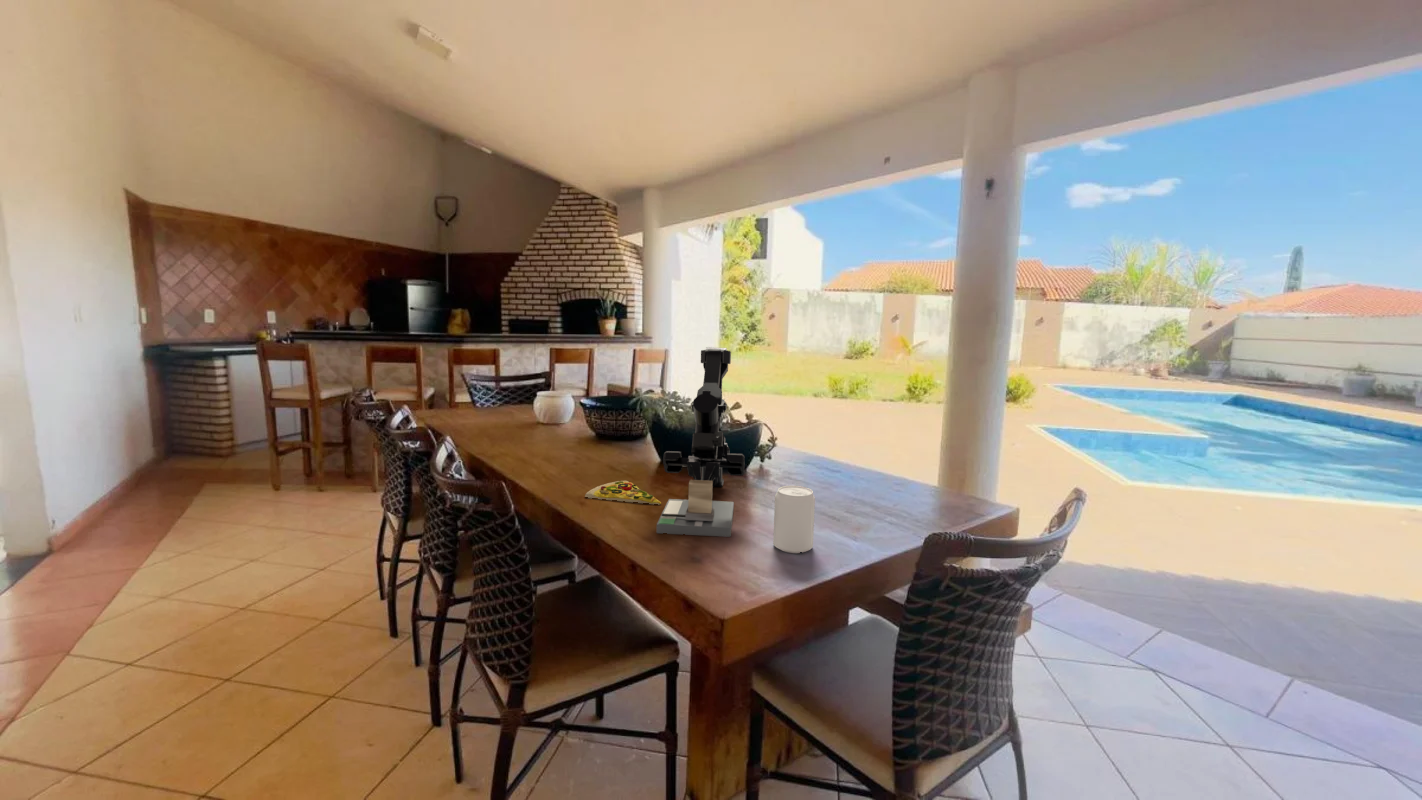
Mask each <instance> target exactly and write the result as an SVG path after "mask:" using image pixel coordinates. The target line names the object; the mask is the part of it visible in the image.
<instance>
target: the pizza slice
mask: <svg viewBox="0 0 1422 800" xmlns="http://www.w3.org/2000/svg"><path fill="white" fill-rule="evenodd" d="M584 497H588V498H587V499H592V498H598V499H597V500H602V499H606V500H605V501H612V500H617V501H616V502H623V501H625V503H633V502H638V503H637V504H643V503H649V504H648V505H654V504H658V505H657V506H661V504H662V502H661V501H660V500H658V498H656V497H654V496H653V494H649V493H648V492H647V491H644V490H642V489H640V488H639V487H638V486H637V484H634V483H633V482H629V480H617V481H613V482H608V483H605V484H601V485H598V486H596V487H594V488H592V489H590V490H589V491H587V492H586V493H585V495H584Z"/></svg>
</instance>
